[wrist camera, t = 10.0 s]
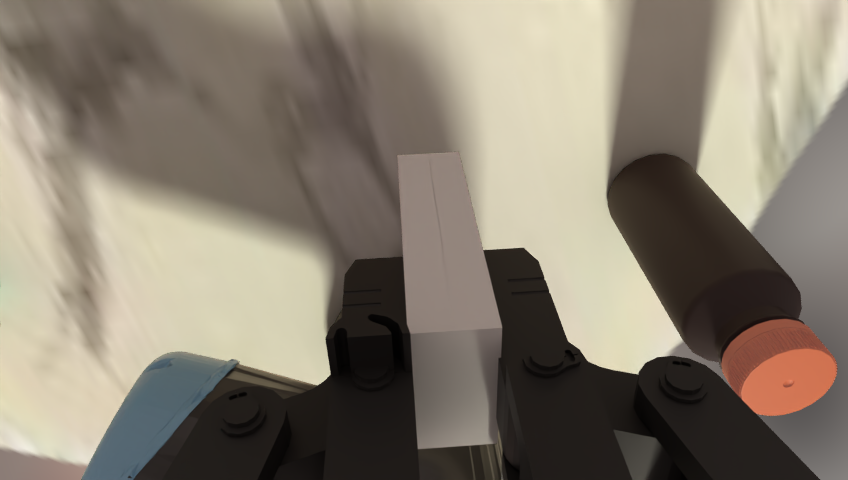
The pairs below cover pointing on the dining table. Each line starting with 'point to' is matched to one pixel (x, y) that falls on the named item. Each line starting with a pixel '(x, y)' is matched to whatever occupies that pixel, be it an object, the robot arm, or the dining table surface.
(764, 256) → the bottle
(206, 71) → the dining table surface
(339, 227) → the dining table surface
